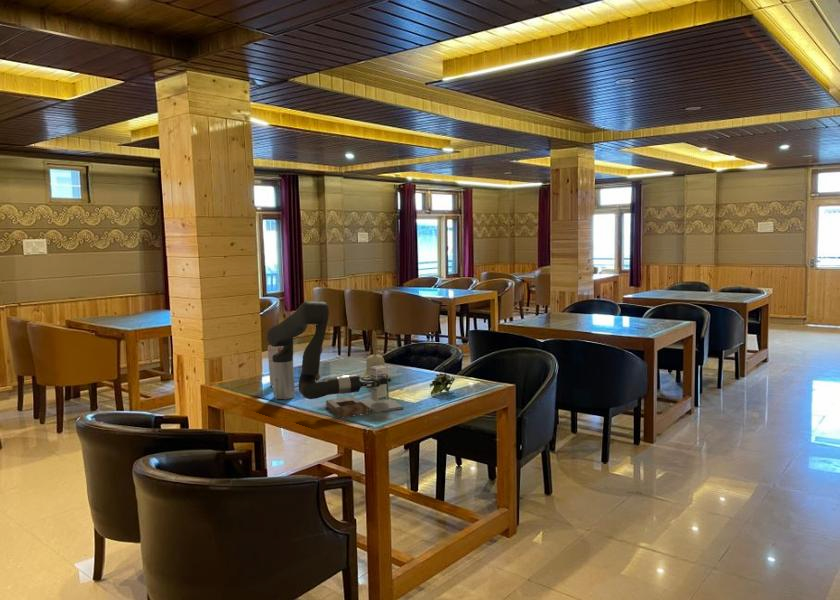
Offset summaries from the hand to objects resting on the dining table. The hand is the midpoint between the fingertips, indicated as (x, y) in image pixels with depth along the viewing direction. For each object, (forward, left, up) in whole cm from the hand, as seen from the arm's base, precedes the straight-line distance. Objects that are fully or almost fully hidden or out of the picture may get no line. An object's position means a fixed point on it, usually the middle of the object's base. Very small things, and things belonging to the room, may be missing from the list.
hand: (384, 379), depth 274 cm
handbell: (+14, +48, -11) cm, 51 cm away
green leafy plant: (+30, +4, -11) cm, 32 cm away
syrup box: (-2, 0, -9) cm, 9 cm away
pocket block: (-17, 0, -11) cm, 21 cm away
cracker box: (-31, +67, -11) cm, 75 cm away
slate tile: (-2, 0, -11) cm, 11 cm away
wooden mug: (-13, +68, -11) cm, 70 cm away
